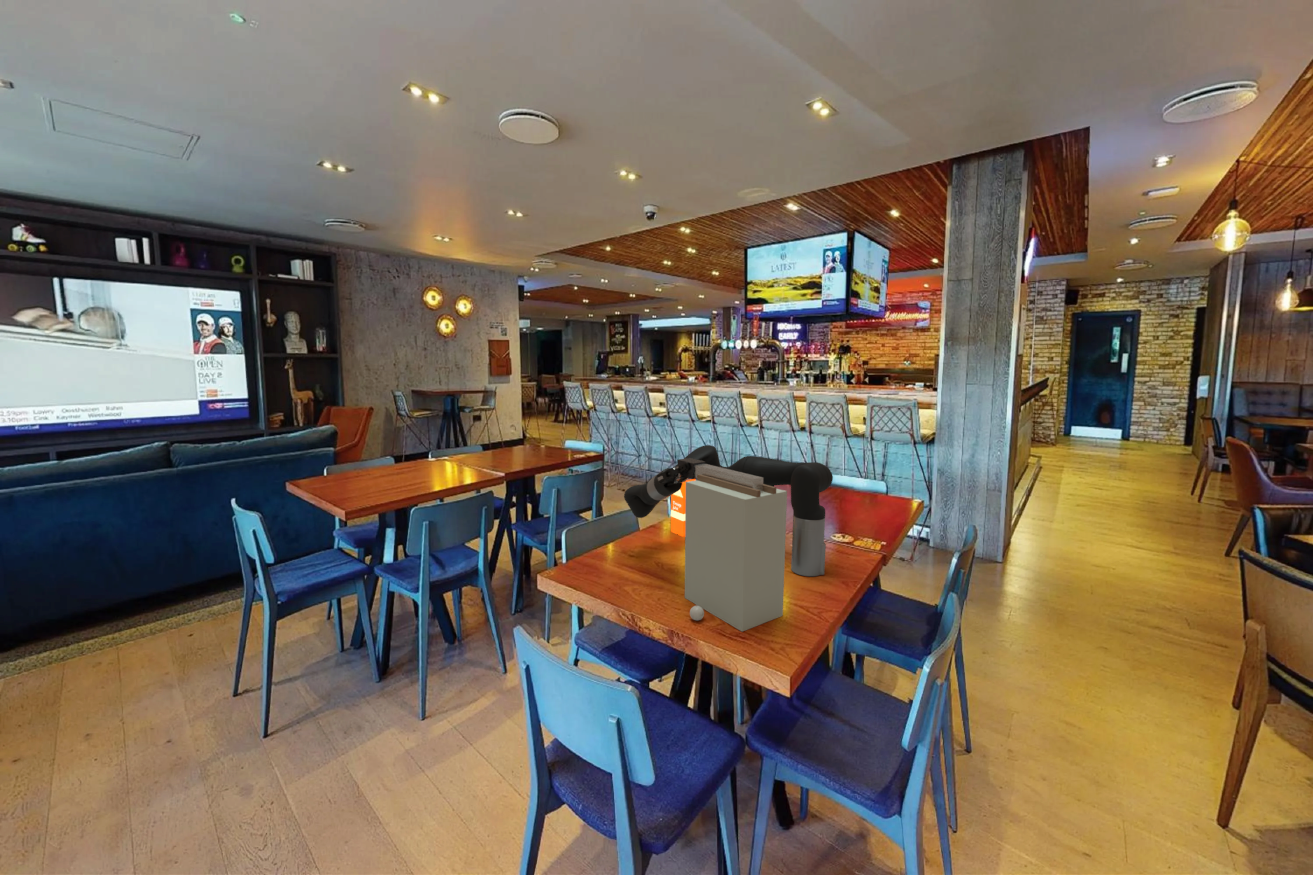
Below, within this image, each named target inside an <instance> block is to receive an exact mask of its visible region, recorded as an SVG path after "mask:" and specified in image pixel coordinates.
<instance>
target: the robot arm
mask: <svg viewBox="0 0 1313 875" xmlns="http://www.w3.org/2000/svg"><path fill="white" fill-rule="evenodd" d="M686 458H692V459H696V460H700V461H705V462H706V464H708V465H713V466H717V467H721V468H725V469H729V470H733V471H738V472H742V473H746V474H750V475H754V476H759V477H763V484H765V485H769V486H772V485H774V486H782V485H783V486H785V485H786V486H790V503H791V504H790V505H791V508H792V510H793V515H792V540H791V542H792V543H791V563H790V564H791V565H790V566H791V571H792V572H793V573H795V574H796V575H800V576H803V577H804V576H805V577H817V576H824V575H825V569H826V567H825V566H826V564H825V563H826V547H827V546H826V543H825V529H826V528H825V527H826V508H825V507H824V506H823V505H820V493H823V492H824V491H826V490H827V489H828V488H829V487H831V485H832V483H833V479H834V477H833V473H832V471H831V469H830V468H829V467H828V466H827V465H825V464H823V463H821V462H815V461H814V462H809V461H808V462H797V461H796V462H794V461H792V462H791V461H785V460H780V459H775V458H771V457H763V456H762V457H761V456H754V455H747V456H742V457H741V458H740V459H738V460H737V461H735V462H734V463H733V464H731V465H729V466H724V465H721V461H720V457H719V454H718V450H717V448H716V447H715V446H713V445H710V444H707V445H702V446H699V447H696V448H695V449H694V450H692V451H691V452H690V453H688V455H686V456H685V457H684V458H683V459H686ZM688 470H690V466H689V463H688V462H685V463H684V464H682V465H681V466H679V467H677V464H676V465H674V466H673V467H668V468H664V469H663V470H662V471H660V472H659V473H657V474H656V475H654V476H653V477H652V478H650V480H648V481H647V482H645V483H644V484H636V485H633V486H630V487H628V488H627V489H626V490H625V492H624V495H623V498H624V500H625V502H626V504H627V506H628V508H629V509H630V511H631V513H632V514H633V515H634V517H635V518H637V519H642V518H646V517H647V516H649V514H650V513H651V512H653V510H654V509H655V508H656V506H657V505H658V504H659V503H660V502H661V501H662V500H664V499H665V500H666V499H667V498H669V497H671V495H672V494H674V493H676V492H677V491H679V490H680V489H681V487H682V483H683V482H685V481H686V480H691V479H690V478H686V477H683V476H681V475H682V474H684V473H685V472H687V471H688Z"/></svg>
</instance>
